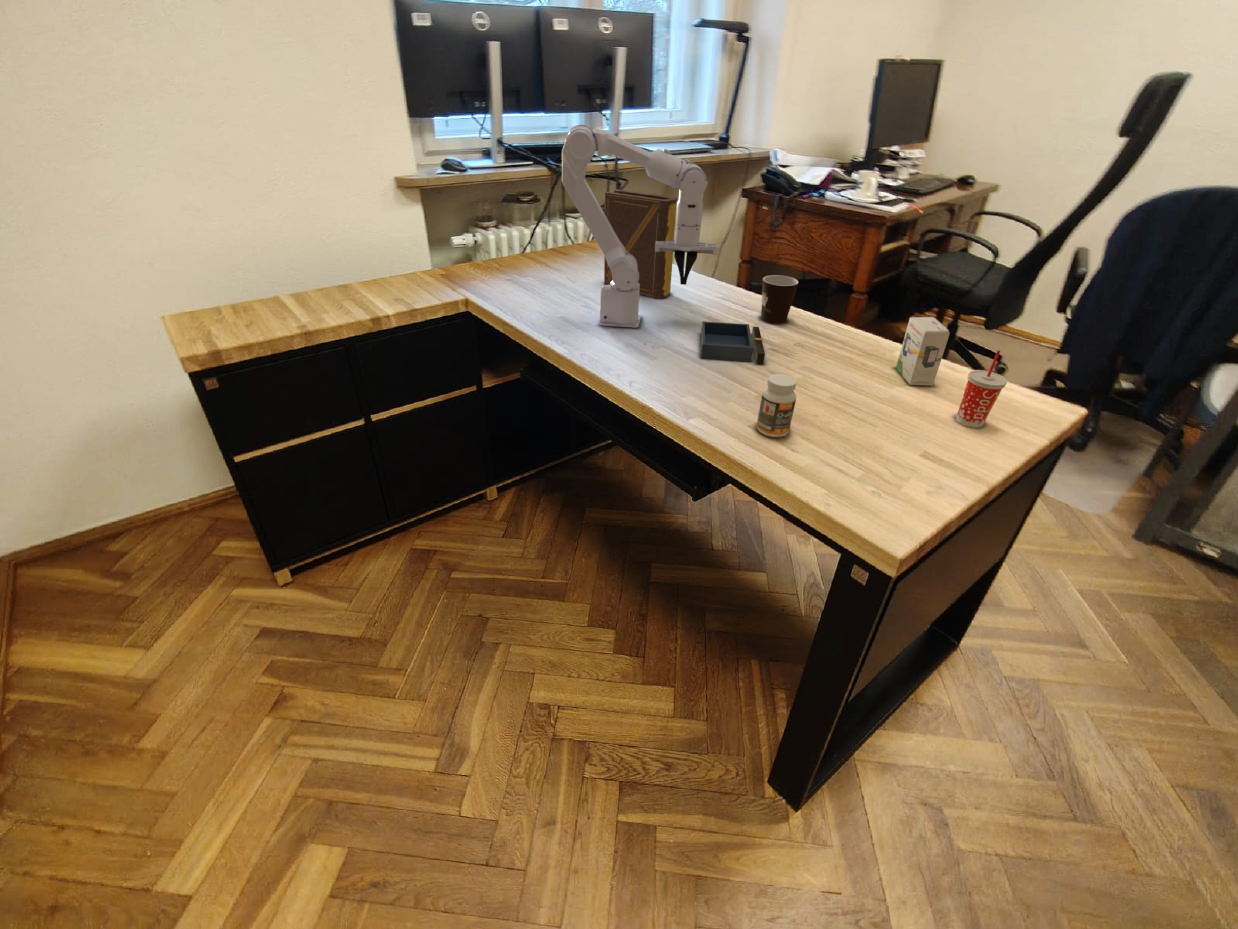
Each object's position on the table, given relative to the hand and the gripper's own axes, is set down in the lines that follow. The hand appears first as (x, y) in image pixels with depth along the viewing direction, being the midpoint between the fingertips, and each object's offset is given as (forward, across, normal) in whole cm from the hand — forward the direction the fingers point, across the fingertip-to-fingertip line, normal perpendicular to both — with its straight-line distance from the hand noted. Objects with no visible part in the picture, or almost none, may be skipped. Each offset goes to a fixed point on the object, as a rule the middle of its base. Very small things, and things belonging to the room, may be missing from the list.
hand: (683, 283), depth 141 cm
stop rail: (+10, +18, -14) cm, 25 cm away
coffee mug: (+10, +24, +8) cm, 27 cm away
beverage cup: (+10, +55, -41) cm, 69 cm away
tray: (+10, +11, -14) cm, 20 cm away
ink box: (+10, +50, -23) cm, 56 cm away
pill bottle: (+10, +18, -50) cm, 54 cm away
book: (+10, -14, +24) cm, 30 cm away
